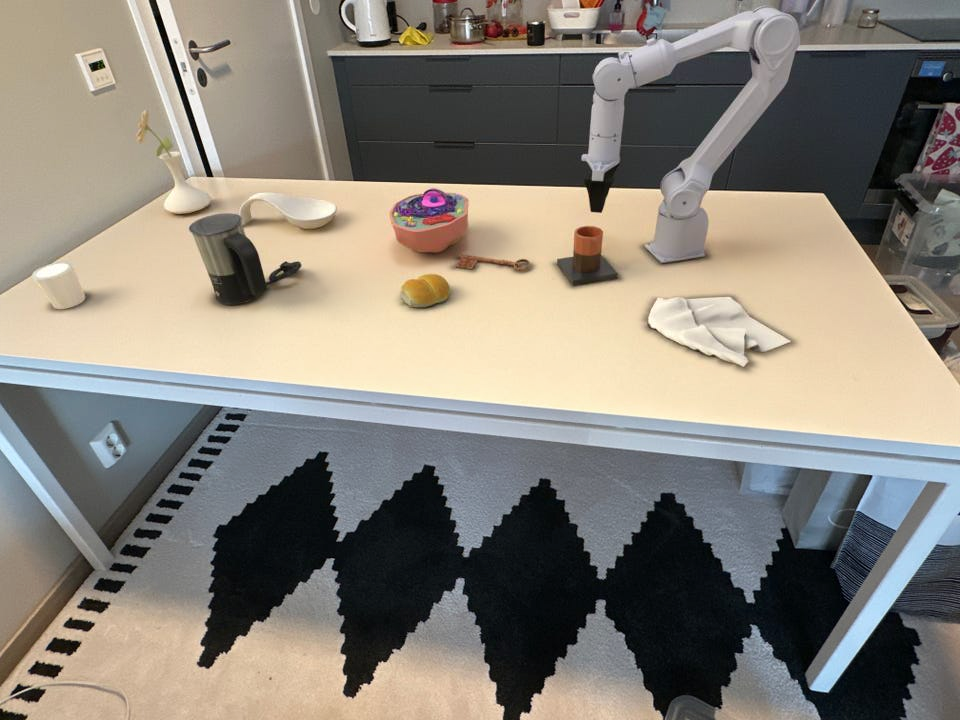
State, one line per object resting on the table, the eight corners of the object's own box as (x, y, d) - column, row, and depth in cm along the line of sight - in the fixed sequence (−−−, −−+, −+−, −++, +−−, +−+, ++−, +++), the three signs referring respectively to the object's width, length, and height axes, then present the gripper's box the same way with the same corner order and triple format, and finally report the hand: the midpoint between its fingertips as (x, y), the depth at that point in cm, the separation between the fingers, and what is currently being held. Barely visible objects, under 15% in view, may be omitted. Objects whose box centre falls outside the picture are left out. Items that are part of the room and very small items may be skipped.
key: (453, 268, 118) (523, 278, 113) (452, 264, 118) (523, 274, 113) (464, 253, 122) (532, 262, 117) (463, 249, 122) (532, 258, 117)
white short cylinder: (48, 314, 111) (29, 282, 107) (50, 298, 116) (32, 267, 111) (88, 304, 113) (71, 272, 109) (89, 288, 118) (72, 258, 114)
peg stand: (598, 257, 118) (601, 225, 114) (617, 278, 111) (620, 245, 107) (556, 264, 117) (558, 232, 113) (572, 286, 110) (574, 252, 106)
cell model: (376, 260, 122) (367, 209, 115) (419, 221, 136) (413, 174, 129) (449, 272, 116) (445, 219, 109) (486, 230, 131) (484, 181, 124)
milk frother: (204, 301, 112) (176, 230, 103) (256, 263, 123) (235, 196, 114) (266, 313, 108) (242, 239, 98) (313, 272, 119) (295, 203, 110)
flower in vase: (181, 199, 155) (144, 100, 139) (221, 200, 153) (187, 99, 138) (153, 220, 144) (109, 115, 129) (195, 221, 143) (156, 114, 128)
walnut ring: (593, 257, 116) (595, 241, 114) (604, 270, 112) (605, 253, 110) (569, 261, 115) (569, 245, 113) (578, 274, 111) (579, 257, 109)
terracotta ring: (595, 241, 114) (596, 224, 111) (605, 253, 110) (607, 235, 107) (569, 245, 113) (570, 228, 111) (579, 257, 109) (580, 239, 107)
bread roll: (457, 297, 109) (456, 279, 106) (415, 313, 105) (413, 294, 102) (436, 280, 114) (434, 262, 112) (395, 294, 110) (392, 276, 108)
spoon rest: (345, 214, 142) (339, 185, 137) (329, 235, 133) (322, 205, 128) (254, 213, 145) (246, 185, 141) (232, 234, 136) (223, 204, 131)
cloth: (641, 296, 106) (643, 284, 104) (767, 298, 103) (771, 286, 102) (655, 365, 90) (657, 352, 88) (805, 369, 87) (810, 357, 86)
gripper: (589, 120, 112) (584, 188, 120) (577, 143, 101) (572, 217, 110) (626, 122, 110) (619, 191, 119) (618, 146, 99) (610, 220, 108)
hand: (599, 203), depth 114 cm, fingers open, 7 cm apart
